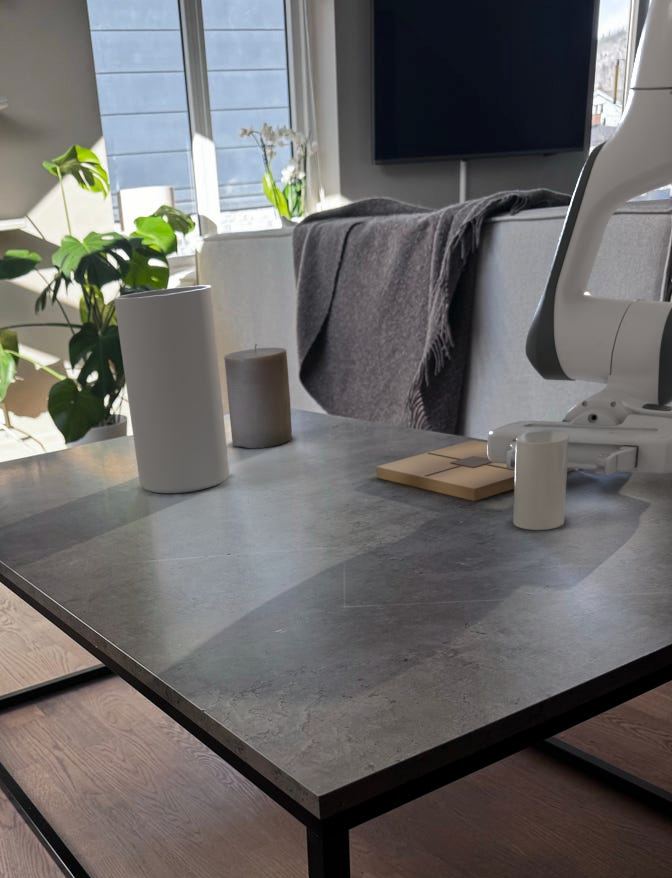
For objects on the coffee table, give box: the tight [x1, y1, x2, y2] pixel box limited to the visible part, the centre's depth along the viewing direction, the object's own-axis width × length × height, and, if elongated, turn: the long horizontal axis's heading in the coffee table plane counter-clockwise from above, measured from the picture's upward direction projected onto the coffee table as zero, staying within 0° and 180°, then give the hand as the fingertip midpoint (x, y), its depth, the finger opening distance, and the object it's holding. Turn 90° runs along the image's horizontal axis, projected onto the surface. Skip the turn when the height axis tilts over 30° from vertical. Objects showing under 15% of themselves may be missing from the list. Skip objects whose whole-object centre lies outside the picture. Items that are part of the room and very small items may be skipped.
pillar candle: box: [223, 343, 293, 449], centre depth 142 cm, size 10×10×15 cm
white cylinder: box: [512, 432, 569, 531], centre depth 94 cm, size 5×5×9 cm
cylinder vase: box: [113, 285, 230, 494], centre depth 122 cm, size 12×12×25 cm
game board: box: [375, 439, 577, 502], centre depth 115 cm, size 17×17×2 cm
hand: (556, 463), depth 96 cm, fingers open, 8 cm apart
